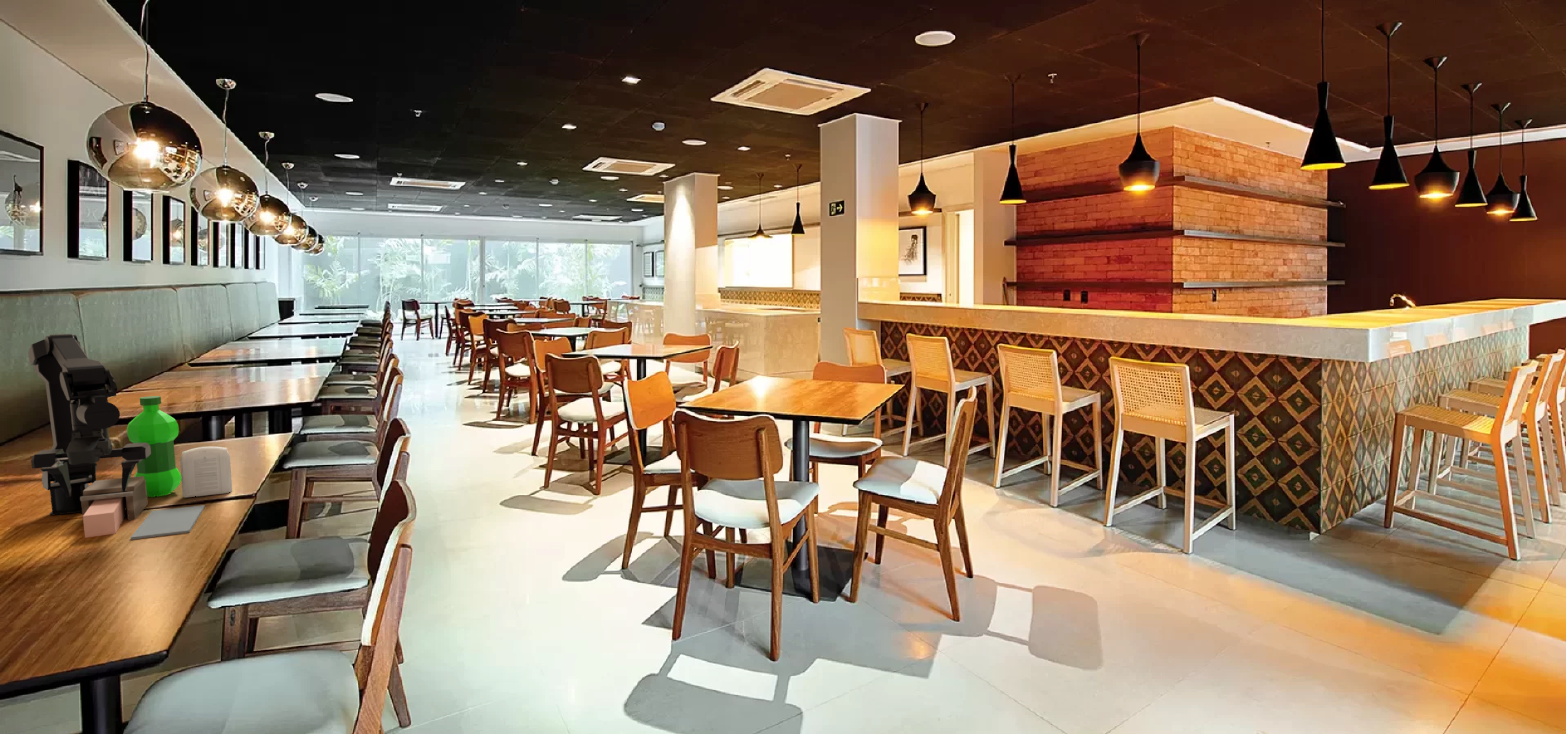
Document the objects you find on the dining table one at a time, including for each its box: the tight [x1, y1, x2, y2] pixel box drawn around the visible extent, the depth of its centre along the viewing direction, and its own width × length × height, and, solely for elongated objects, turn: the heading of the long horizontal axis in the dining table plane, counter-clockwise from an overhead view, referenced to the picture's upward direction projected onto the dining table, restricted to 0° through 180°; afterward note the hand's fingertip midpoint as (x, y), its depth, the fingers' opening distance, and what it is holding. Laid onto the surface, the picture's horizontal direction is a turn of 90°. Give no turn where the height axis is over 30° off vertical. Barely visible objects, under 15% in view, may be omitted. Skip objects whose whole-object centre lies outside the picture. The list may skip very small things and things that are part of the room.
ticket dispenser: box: [80, 476, 149, 526], centre depth 181 cm, size 9×14×7 cm, turn 29°
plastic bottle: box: [126, 395, 182, 498], centre depth 197 cm, size 10×10×25 cm
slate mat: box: [130, 504, 206, 540], centre depth 176 cm, size 10×21×1 cm, turn 29°
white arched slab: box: [179, 445, 233, 499], centre depth 198 cm, size 10×4×12 cm, turn 123°
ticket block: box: [82, 497, 128, 539], centre depth 174 cm, size 5×17×5 cm, turn 34°
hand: (97, 493), depth 169 cm, fingers open, 9 cm apart
